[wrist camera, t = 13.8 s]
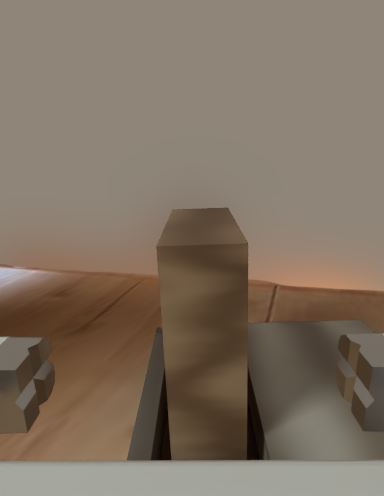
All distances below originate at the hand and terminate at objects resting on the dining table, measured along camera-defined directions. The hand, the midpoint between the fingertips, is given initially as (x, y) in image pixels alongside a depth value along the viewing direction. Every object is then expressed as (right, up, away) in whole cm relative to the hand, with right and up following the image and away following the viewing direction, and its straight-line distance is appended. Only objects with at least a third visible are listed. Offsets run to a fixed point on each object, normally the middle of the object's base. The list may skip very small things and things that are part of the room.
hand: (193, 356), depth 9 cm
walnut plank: (+1, -9, +14) cm, 16 cm away
